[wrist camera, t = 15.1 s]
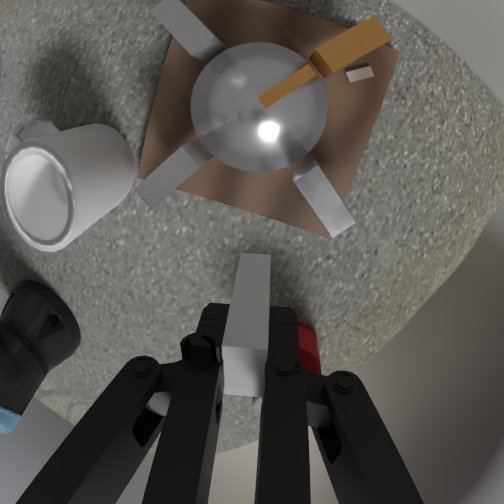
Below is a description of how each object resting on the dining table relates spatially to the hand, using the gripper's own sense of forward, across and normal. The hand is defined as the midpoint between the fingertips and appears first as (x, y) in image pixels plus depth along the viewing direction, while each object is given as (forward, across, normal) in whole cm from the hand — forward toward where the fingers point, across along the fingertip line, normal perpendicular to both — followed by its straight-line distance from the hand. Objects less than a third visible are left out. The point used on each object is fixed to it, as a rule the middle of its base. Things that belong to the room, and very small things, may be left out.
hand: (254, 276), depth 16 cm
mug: (+17, -19, +3) cm, 26 cm away
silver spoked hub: (+12, -1, +8) cm, 14 cm away
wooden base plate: (+16, 0, +8) cm, 18 cm away
